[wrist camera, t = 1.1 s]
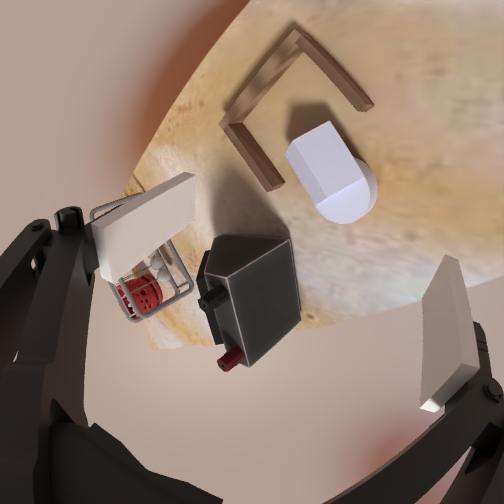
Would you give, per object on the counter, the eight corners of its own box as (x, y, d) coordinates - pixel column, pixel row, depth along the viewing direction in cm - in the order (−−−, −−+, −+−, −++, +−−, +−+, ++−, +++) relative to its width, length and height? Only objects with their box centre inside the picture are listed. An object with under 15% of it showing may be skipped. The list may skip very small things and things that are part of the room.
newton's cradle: (134, 206, 86) (81, 226, 75) (145, 189, 79) (87, 210, 67) (181, 296, 87) (130, 325, 75) (197, 288, 79) (141, 321, 68)
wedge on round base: (297, 152, 45) (340, 226, 45) (270, 158, 41) (319, 241, 41) (340, 120, 38) (389, 201, 39) (317, 120, 34) (373, 215, 34)
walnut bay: (307, 33, 35) (294, 28, 33) (374, 105, 34) (365, 104, 32) (232, 122, 51) (218, 123, 48) (279, 187, 50) (266, 192, 48)
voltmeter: (227, 231, 63) (144, 271, 50) (294, 236, 52) (205, 290, 39) (242, 300, 68) (172, 348, 55) (305, 316, 57) (233, 381, 44)
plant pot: (160, 311, 102) (132, 327, 94) (140, 279, 103) (112, 293, 95) (171, 300, 93) (140, 318, 85) (149, 264, 94) (117, 280, 86)
